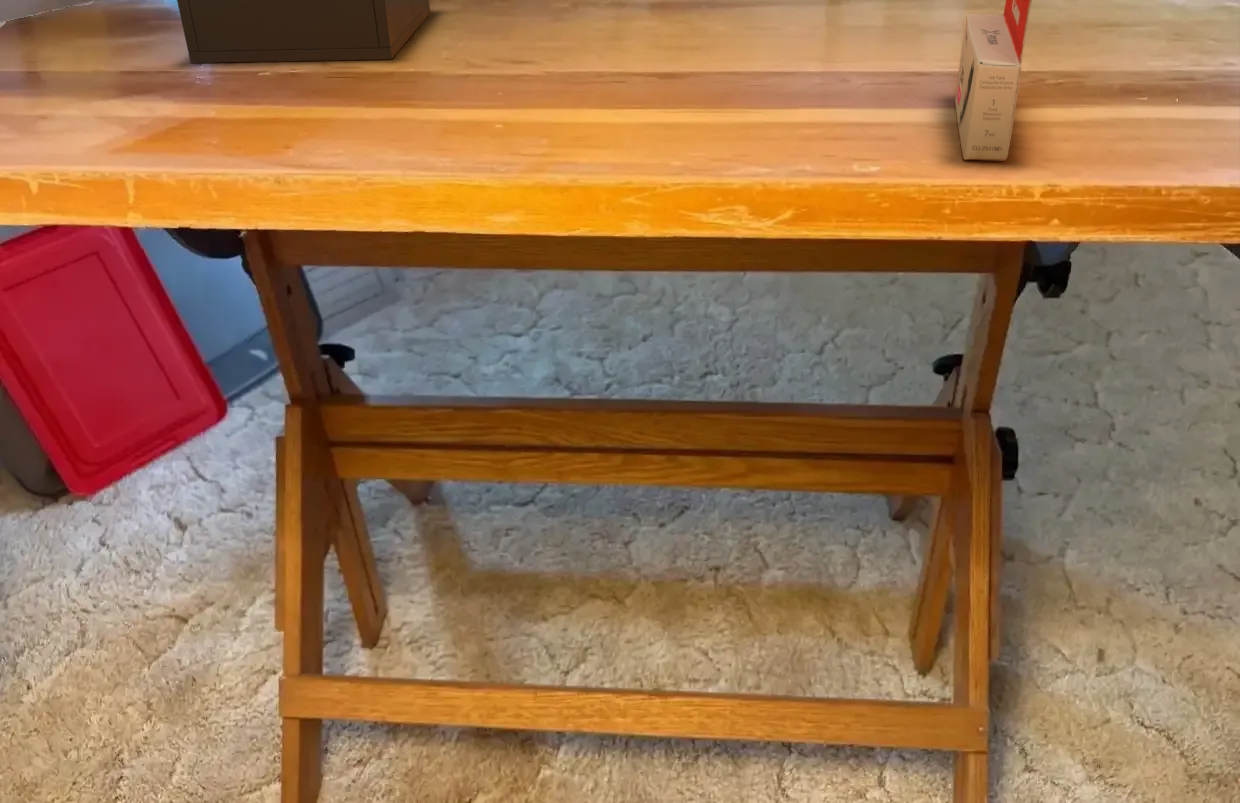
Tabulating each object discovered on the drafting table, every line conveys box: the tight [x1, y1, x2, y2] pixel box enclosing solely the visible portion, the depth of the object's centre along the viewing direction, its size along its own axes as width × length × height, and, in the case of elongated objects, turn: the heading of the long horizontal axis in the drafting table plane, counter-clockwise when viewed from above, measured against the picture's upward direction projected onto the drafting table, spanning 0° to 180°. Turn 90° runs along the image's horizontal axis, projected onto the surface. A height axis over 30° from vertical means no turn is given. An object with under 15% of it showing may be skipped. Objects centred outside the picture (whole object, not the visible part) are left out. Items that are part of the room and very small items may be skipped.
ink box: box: [954, 0, 1033, 162], centre depth 61 cm, size 2×11×10 cm, turn 168°
